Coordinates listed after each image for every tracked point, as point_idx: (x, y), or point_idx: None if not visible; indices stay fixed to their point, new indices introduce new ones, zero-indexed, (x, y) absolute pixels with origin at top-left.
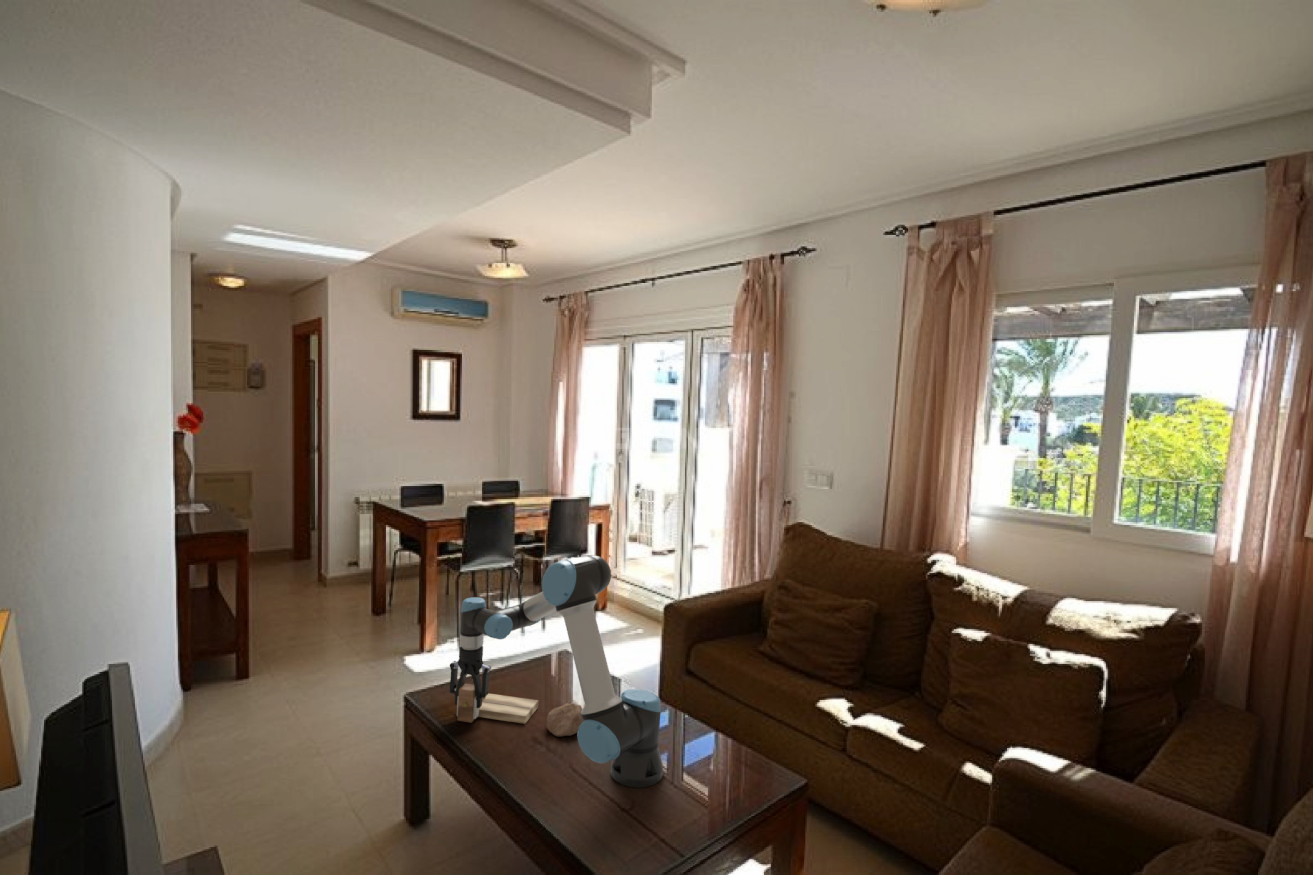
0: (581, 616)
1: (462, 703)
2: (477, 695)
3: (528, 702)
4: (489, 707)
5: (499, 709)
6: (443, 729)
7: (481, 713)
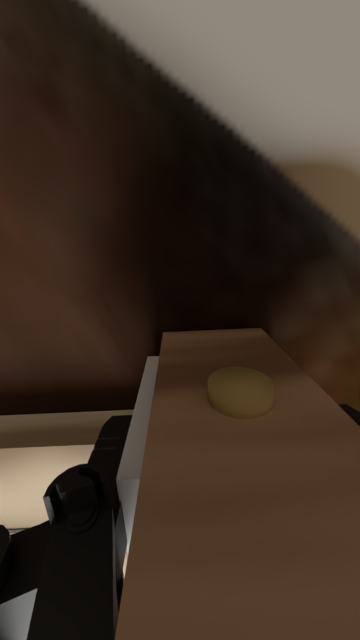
0: None
1: (272, 387)
2: (83, 544)
3: None
4: None
5: (38, 477)
6: (302, 196)
7: None
